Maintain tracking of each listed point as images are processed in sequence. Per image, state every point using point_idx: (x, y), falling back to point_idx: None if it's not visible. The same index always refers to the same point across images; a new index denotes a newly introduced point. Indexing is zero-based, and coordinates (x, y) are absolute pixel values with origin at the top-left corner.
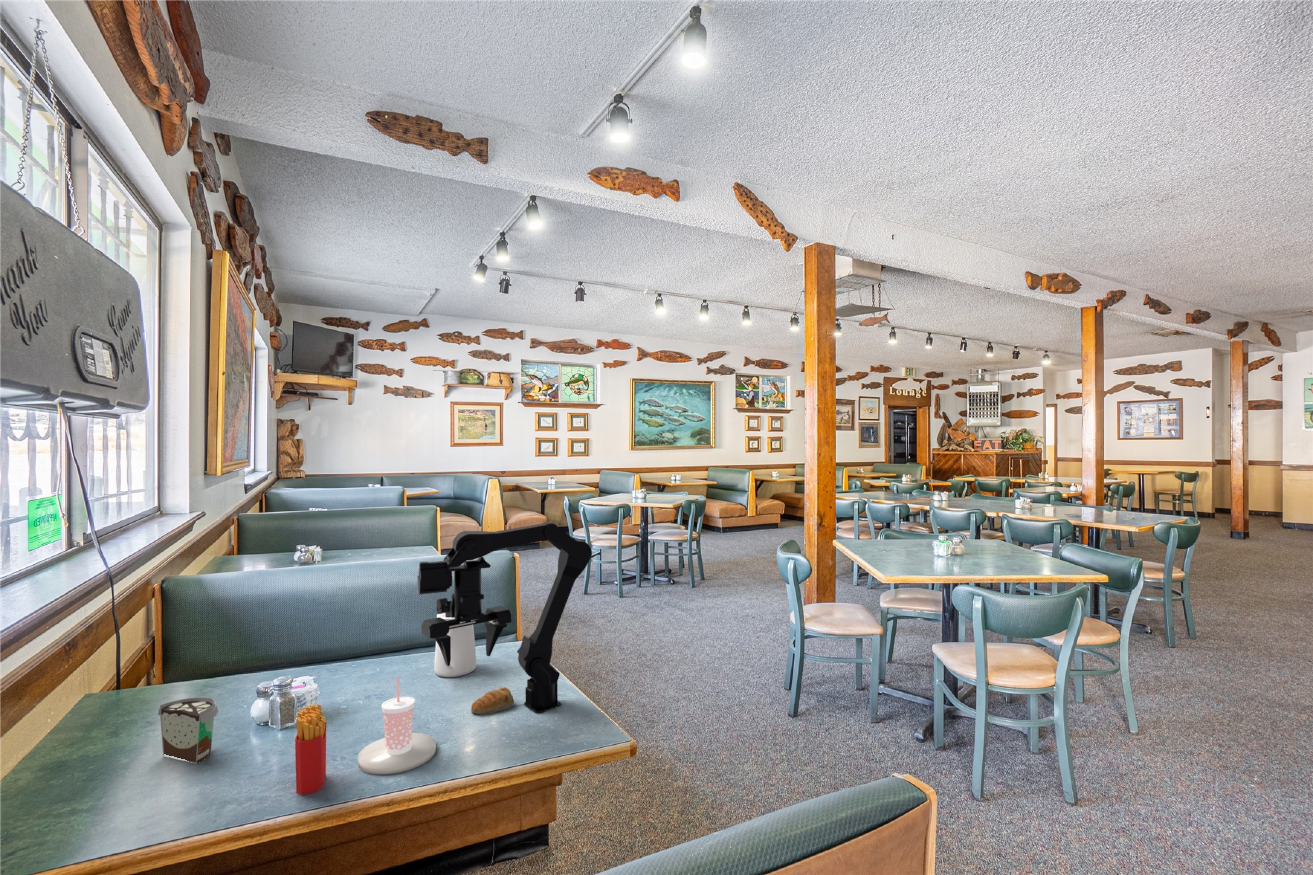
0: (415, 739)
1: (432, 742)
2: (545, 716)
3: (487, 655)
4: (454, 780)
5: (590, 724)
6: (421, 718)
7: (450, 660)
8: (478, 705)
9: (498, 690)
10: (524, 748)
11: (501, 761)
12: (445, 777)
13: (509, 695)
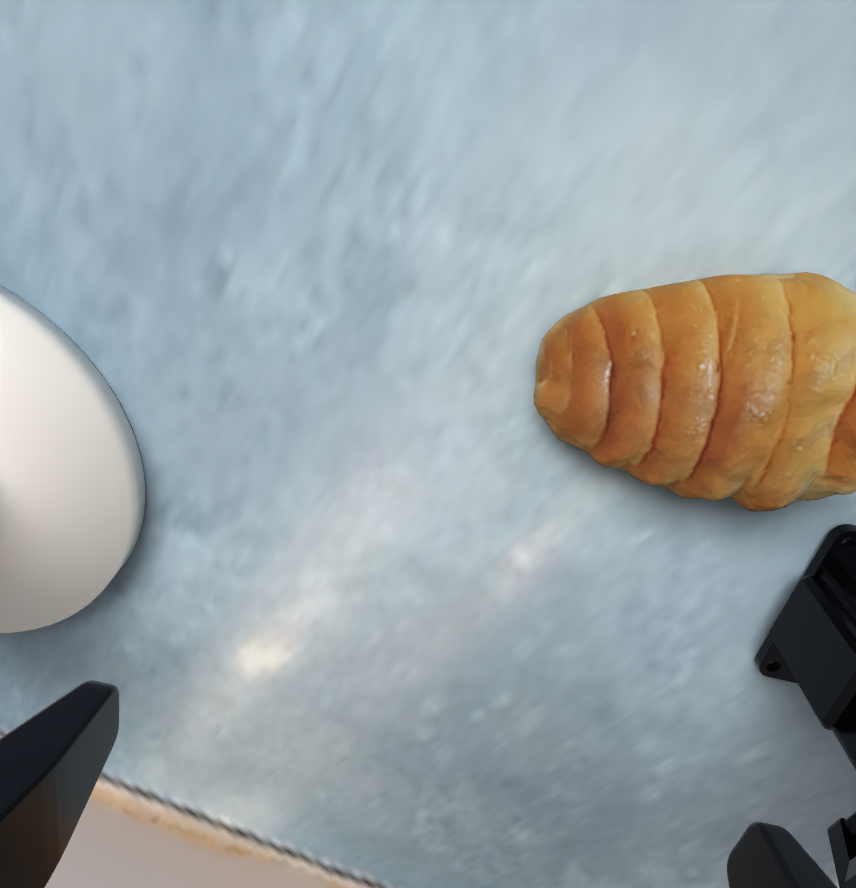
0: (38, 448)
1: (105, 549)
2: (742, 707)
3: (738, 852)
4: None
5: None
6: (250, 70)
7: (69, 839)
8: (563, 420)
9: (827, 403)
10: (422, 815)
11: (293, 813)
12: None
13: (814, 494)
